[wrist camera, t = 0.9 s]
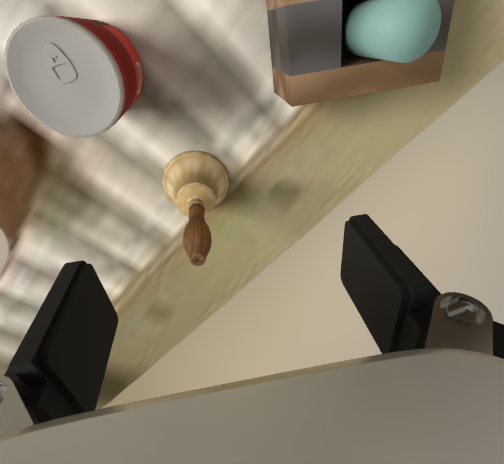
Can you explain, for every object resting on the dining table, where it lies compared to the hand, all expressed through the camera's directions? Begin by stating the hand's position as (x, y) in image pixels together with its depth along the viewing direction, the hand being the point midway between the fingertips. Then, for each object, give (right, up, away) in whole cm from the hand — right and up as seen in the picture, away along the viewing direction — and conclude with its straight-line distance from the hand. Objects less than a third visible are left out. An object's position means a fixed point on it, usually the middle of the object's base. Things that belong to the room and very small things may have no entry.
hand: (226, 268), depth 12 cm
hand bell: (-6, +8, +28) cm, 30 cm away
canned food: (-14, +18, +20) cm, 30 cm away
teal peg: (+10, +19, +16) cm, 27 cm away
